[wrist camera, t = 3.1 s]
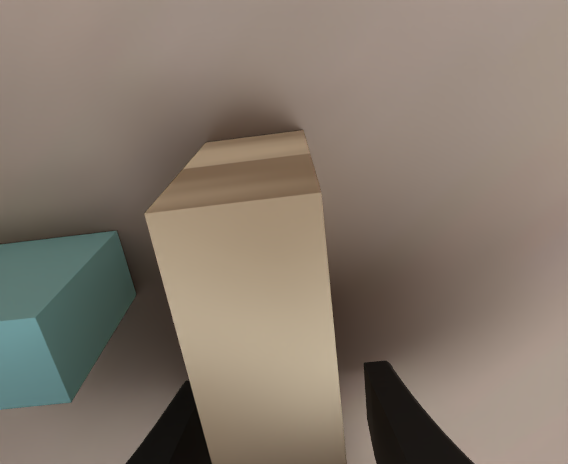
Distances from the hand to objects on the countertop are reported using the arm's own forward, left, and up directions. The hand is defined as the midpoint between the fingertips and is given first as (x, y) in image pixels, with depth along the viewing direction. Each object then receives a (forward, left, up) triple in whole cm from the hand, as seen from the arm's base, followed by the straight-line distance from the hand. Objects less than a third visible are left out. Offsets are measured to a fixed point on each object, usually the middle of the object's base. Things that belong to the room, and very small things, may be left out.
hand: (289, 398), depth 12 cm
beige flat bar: (0, 0, -1) cm, 1 cm away
